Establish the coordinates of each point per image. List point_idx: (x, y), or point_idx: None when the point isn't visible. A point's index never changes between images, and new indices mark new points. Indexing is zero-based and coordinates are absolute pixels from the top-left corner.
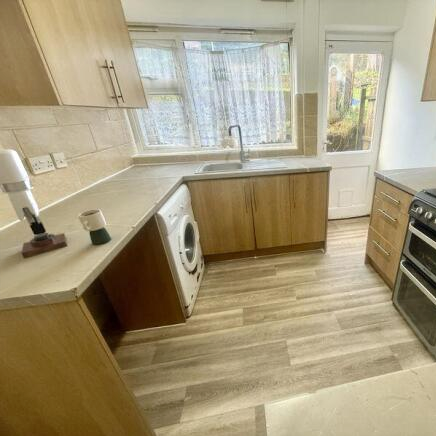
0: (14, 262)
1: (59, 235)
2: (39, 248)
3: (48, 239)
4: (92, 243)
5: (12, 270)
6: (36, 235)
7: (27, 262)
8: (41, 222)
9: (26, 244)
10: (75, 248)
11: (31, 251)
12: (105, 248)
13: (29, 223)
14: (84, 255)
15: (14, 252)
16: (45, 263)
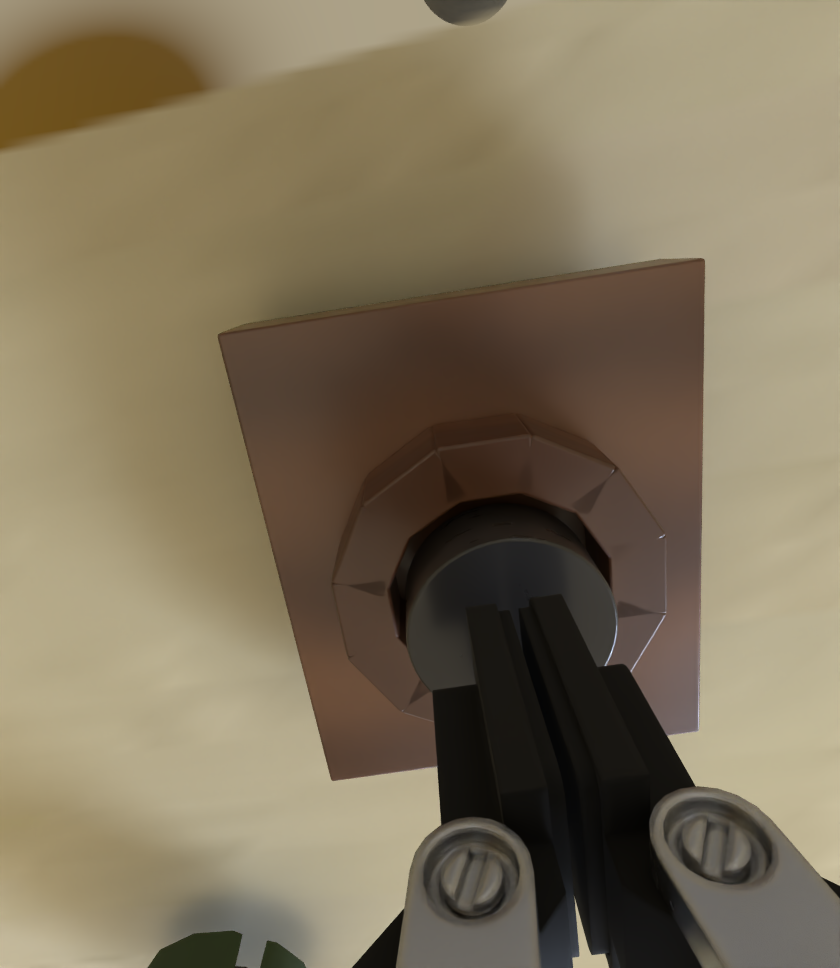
0: (279, 188)
1: (645, 692)
2: (271, 539)
3: (377, 684)
4: (181, 953)
5: (7, 232)
6: (552, 571)
7: (181, 356)
8: (611, 962)
9: (587, 325)
10: (305, 756)
11: (253, 443)
12: (135, 961)
13: (411, 931)
14: (60, 839)
15: (707, 82)
16: (39, 552)
